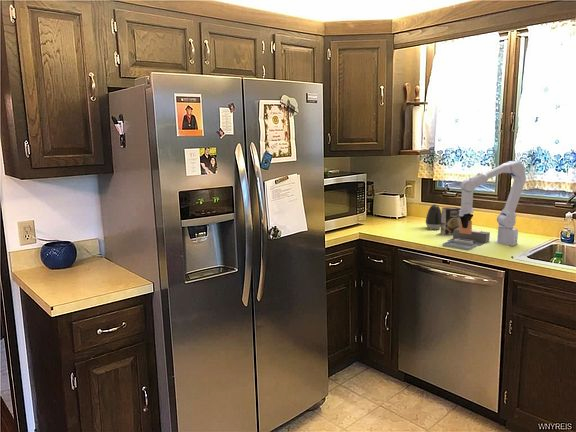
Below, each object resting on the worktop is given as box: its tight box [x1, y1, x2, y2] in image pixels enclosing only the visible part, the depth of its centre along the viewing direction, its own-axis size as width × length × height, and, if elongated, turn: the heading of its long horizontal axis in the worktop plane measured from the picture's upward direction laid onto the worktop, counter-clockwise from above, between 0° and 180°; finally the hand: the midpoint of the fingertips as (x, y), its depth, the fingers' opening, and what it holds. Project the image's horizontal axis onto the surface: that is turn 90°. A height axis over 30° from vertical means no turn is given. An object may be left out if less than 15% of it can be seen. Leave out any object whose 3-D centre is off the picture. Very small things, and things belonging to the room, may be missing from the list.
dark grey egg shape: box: [425, 204, 442, 230], centre depth 287 cm, size 10×10×15 cm
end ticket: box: [459, 219, 473, 234], centre depth 249 cm, size 6×2×7 cm, turn 47°
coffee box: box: [440, 206, 461, 236], centre depth 270 cm, size 9×6×16 cm
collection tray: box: [442, 239, 478, 251], centre depth 243 cm, size 14×10×2 cm
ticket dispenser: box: [447, 228, 491, 247], centre depth 253 cm, size 18×13×6 cm
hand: (465, 227), depth 249 cm, fingers closed on end ticket, 1 cm apart
